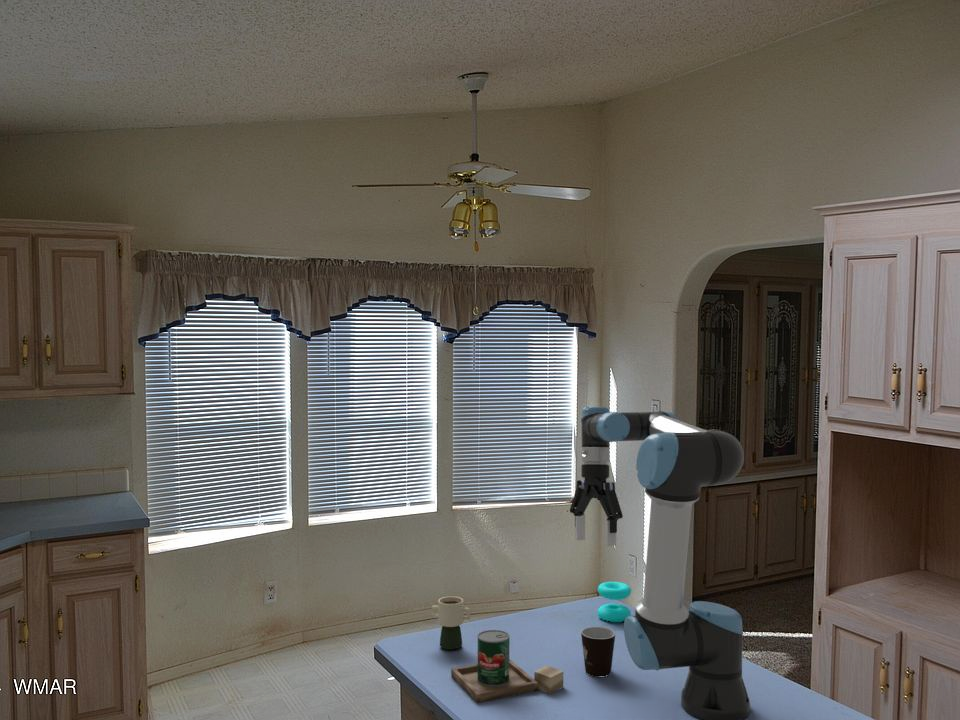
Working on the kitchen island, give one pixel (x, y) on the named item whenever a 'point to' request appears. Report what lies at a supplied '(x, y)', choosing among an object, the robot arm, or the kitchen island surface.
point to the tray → (481, 693)
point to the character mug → (450, 620)
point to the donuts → (613, 610)
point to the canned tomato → (493, 658)
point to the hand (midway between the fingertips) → (595, 542)
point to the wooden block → (549, 679)
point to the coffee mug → (598, 650)
